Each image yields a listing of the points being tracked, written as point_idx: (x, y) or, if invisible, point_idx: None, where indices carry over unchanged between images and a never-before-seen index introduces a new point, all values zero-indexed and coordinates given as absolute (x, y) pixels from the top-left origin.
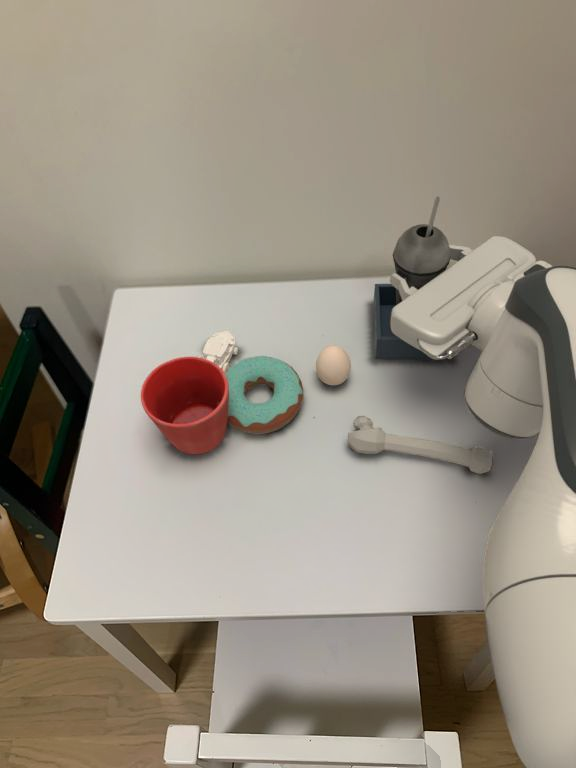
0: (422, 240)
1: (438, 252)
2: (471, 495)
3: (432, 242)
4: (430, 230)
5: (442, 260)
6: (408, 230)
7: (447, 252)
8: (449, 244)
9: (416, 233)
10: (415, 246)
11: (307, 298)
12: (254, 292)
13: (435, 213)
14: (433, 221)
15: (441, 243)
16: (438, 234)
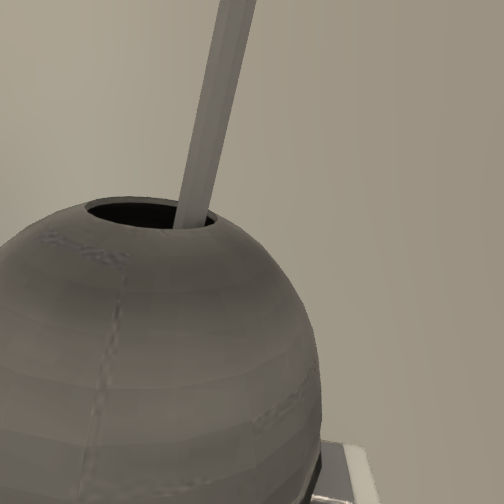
0: (61, 221)
1: (38, 372)
2: None
3: (78, 259)
4: (182, 215)
5: (42, 502)
6: (150, 217)
7: (166, 471)
8: (375, 495)
9: (109, 197)
10: (10, 239)
11: None
12: None
13: (223, 48)
14: (205, 133)
15: (147, 327)
16: (199, 260)
